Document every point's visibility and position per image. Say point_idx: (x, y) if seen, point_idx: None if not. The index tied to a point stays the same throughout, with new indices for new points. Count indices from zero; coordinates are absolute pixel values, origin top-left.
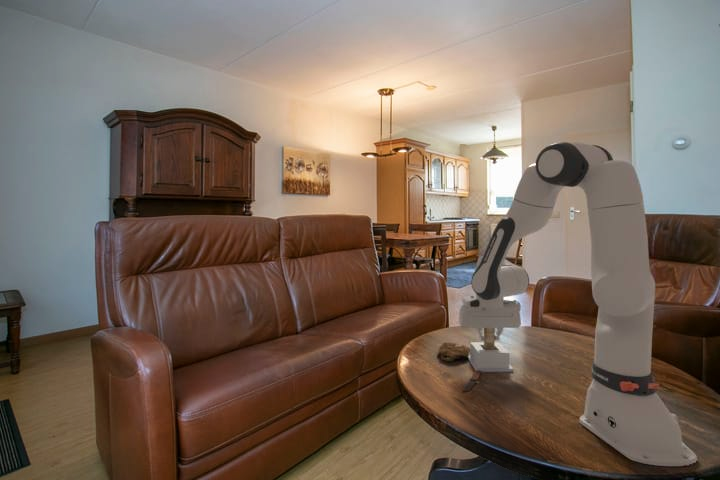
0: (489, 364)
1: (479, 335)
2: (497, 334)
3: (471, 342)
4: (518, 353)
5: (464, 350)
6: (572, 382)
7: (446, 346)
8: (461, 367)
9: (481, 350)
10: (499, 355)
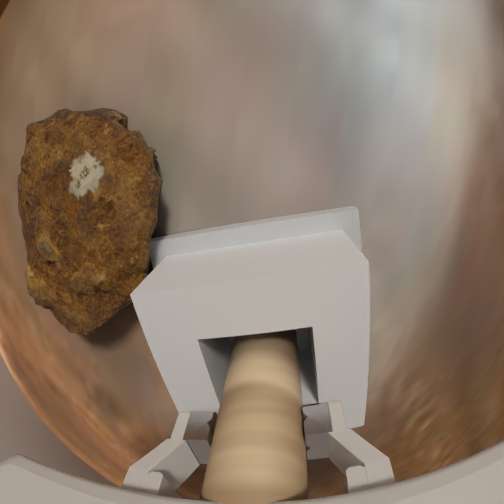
0: None
1: (174, 434)
2: (332, 454)
3: (137, 298)
4: (461, 127)
5: (120, 271)
6: (491, 388)
7: (32, 224)
8: (139, 354)
9: None
10: None
